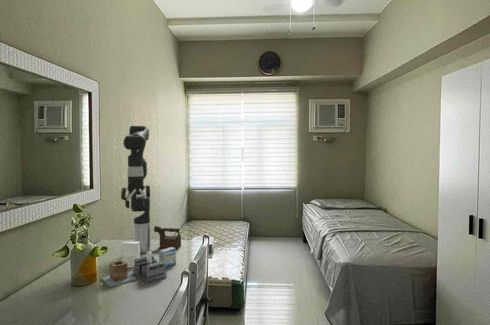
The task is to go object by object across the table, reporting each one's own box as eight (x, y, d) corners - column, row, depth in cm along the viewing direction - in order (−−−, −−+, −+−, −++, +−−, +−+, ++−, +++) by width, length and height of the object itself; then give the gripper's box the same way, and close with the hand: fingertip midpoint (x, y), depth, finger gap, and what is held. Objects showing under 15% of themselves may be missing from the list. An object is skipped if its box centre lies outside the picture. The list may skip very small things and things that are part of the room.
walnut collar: (110, 277, 150) (109, 263, 150) (122, 274, 154) (122, 260, 154) (114, 281, 146) (114, 266, 145) (127, 277, 150) (127, 263, 149)
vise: (132, 273, 158) (132, 250, 157) (151, 267, 164) (151, 246, 164) (146, 283, 146) (146, 258, 145) (166, 277, 152) (166, 253, 152)
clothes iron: (158, 245, 203) (157, 224, 202) (182, 245, 201) (181, 225, 200) (152, 249, 195) (152, 227, 194) (177, 250, 193) (177, 228, 192)
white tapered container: (143, 261, 173) (142, 240, 173) (135, 268, 164) (135, 245, 164) (127, 261, 174) (126, 239, 173) (119, 267, 165) (118, 244, 165)
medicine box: (164, 268, 163) (164, 252, 163) (159, 266, 166) (158, 250, 166) (176, 264, 170) (176, 248, 169) (170, 262, 172) (170, 246, 172)
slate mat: (101, 279, 151) (101, 277, 150) (126, 272, 158) (126, 270, 158) (110, 287, 142) (110, 285, 141) (136, 279, 149) (136, 278, 149)
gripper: (145, 173, 168) (146, 204, 169) (118, 175, 159) (119, 207, 160) (152, 174, 163) (152, 206, 164) (124, 176, 153) (125, 209, 154)
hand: (136, 206), depth 162 cm, fingers open, 8 cm apart
